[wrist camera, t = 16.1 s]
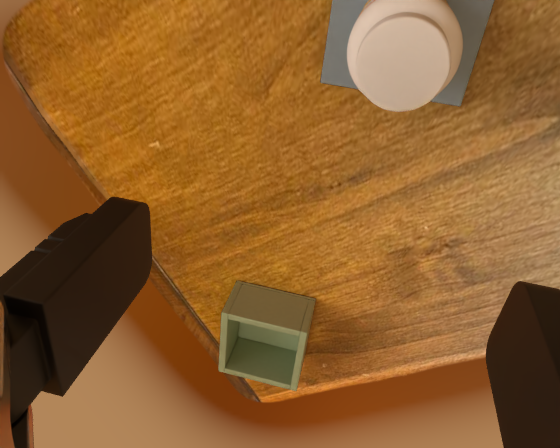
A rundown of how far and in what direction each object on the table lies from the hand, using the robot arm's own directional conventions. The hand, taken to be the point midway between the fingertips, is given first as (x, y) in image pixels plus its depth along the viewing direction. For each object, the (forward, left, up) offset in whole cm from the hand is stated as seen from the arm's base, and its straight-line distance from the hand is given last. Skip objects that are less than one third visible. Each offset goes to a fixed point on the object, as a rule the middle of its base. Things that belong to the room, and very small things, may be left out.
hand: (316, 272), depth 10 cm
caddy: (-4, -24, -23) cm, 34 cm away
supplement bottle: (+1, +2, -23) cm, 23 cm away
